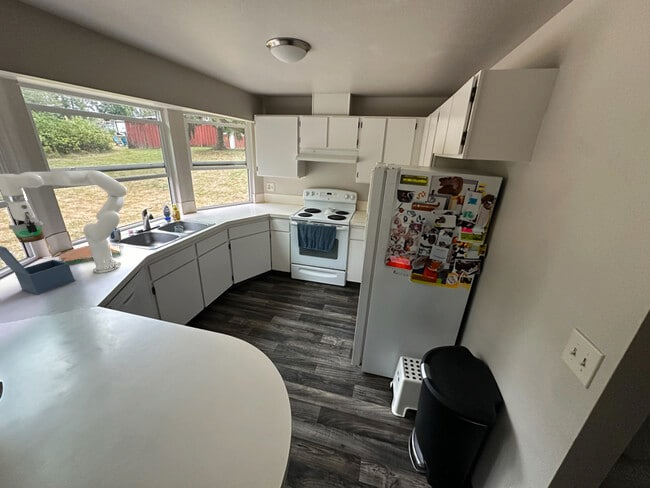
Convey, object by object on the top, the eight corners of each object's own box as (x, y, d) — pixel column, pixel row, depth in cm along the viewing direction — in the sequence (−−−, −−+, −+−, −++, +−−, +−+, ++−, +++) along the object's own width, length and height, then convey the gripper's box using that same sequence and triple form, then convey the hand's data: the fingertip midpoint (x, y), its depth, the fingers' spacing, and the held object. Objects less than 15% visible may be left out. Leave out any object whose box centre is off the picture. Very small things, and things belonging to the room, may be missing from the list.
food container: (15, 245, 130) (6, 227, 127) (15, 242, 134) (7, 224, 131) (49, 239, 139) (42, 222, 135) (48, 237, 143) (41, 220, 139)
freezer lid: (-11, 243, 127) (-25, 248, 123) (5, 247, 123) (-9, 253, 119) (14, 269, 137) (1, 275, 133) (30, 274, 132) (17, 280, 128)
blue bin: (59, 276, 155) (52, 259, 151) (74, 280, 151) (68, 263, 147) (22, 289, 141) (13, 270, 137) (38, 294, 136) (29, 275, 132)
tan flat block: (63, 256, 184) (59, 245, 181) (119, 246, 204) (117, 237, 201) (59, 266, 168) (55, 255, 165) (121, 255, 188) (118, 245, 185)
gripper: (35, 198, 130) (48, 231, 136) (16, 196, 135) (29, 227, 141) (15, 201, 123) (29, 235, 129) (-5, 198, 128) (9, 231, 134)
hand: (28, 231), depth 135 cm, fingers closed on food container, 7 cm apart
